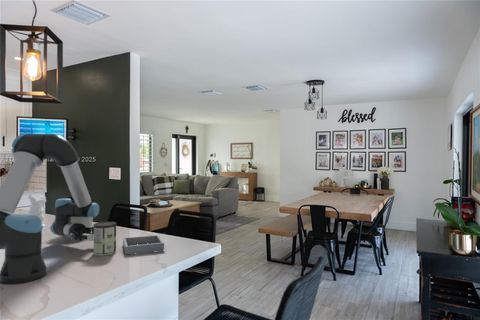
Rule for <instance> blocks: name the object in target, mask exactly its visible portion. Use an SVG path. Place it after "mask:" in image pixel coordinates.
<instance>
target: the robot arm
mask: <svg viewBox="0 0 480 320" xmlns="http://www.w3.org/2000/svg"><path fill="white" fill-rule="evenodd" d="M11 152H12V157H13V159H14V161H13V163H12V164H11V167H10V168H9V170H8V172H7V174H6V175H5V177H4V179H3V180H2V183H1V184H0V250H4V260H3V264H2V265H1V268H0V283H1V284H6V285H7V284H8V285H14V284H23V283H28V282H29V283H30V282H32V281H35V280H39V279H41V278H43V277H45V276H46V275H47V266H46V263H45V260H44V257H43V256H42V243H43V242H42V239H43V238H42V237H43V235H42V233H43V232H42V231H43V227H42V224H41V219H40V218H39V217H38V216H35V215H29V213H24V214H23V213H15V211H16V208H17V207H18V205H19V203H20V200H21V199H22V197H23V195H24V193H25V191H26V188H27V187H28V185H29V183H30V181H31V179H32V176H33V175H34V172H35V171H36V169H37V168H40V167H41V166H42V165H43V163H44V161H45V160H53V161H54V162H55V164H56V166H58V167H60V169H61V173H62V174H63V176H64V179H65V181H66V184H67V187H68V190H69V191H70V195H71V196H72V199H73V201H74V202H72V199H71V198H66V197H65V198H58V199H56V200H55V203H54V204H55V206H54V209H55V211H54V220H55V221H54V220H53V221H54V222H53V221H52V223H51V225H50V231H51V233H52V234H53V235H57V236H59V237H60V236H61V237H66V238H70V239H73V240H74V241H79V242H82V241H89V242H94V226H92V227H91V228H89V227H86V226H85V225H84V224H80V223H74V222H71V217H88V218H89V217H93V218H96V217H97V216H98V215H99V214H100V205H99V204H98V202H97V203H96V202H93V201H92V198H91V196H90V194H89V193H90V192H89V190H88V187H87V185H86V182H85V180H84V176H83V173H82V171H81V168H80V165H79V163H78V161H79V155H78V153H77V150H76V149H75V147H73V144H71V142H69V140H67V139H66V138H65V137H63V136H62V135H59V134H56V133H23V134H20V135H18V136H16V137H15V138H14V140H13V141H12V144H11ZM14 213H15V214H14Z"/></svg>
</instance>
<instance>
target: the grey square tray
mask: <svg viewBox="0 0 480 320" xmlns="http://www.w3.org/2000/svg"><path fill="white" fill-rule="evenodd" d="M156 242H157V243H156ZM147 243H151V244H147ZM137 244H143V245H137ZM128 245H129V246H128ZM122 247H123V250H124V255H125V256H128V255H127V254H132V255H136V254H135V253H141V254H146V253H145V252H151V253H155V252H154V251H161V252H164V251H165V242H164V241H163V240H162V238H161V237H160V235H159V234H155V235H143V236H141V235H140V236H131V237H123V238H122ZM163 250H164V251H163Z"/></svg>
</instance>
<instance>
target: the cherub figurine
mask: <svg viewBox="0 0 480 320" xmlns="http://www.w3.org/2000/svg"><path fill="white" fill-rule="evenodd" d="M28 200H29V201H30V203H31V204H30V206H29V210H28V214H29V215H35V216H38V217H39V218H40V219H41V224H42V228H44V227H45V224H44V223H45V222H44V220H45V215H44V213H45V209H44V205H45V203H47V198H46V196H45V195H41V194H40V195H38V196H35V195H32V194H29V195H28Z"/></svg>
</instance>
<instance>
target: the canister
mask: <svg viewBox="0 0 480 320" xmlns="http://www.w3.org/2000/svg"><path fill="white" fill-rule="evenodd" d="M71 222H74V223H80V224H84V225H85V226H86V227H89V228H91V227H93V222H94V217H89V218H88V217H71Z"/></svg>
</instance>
